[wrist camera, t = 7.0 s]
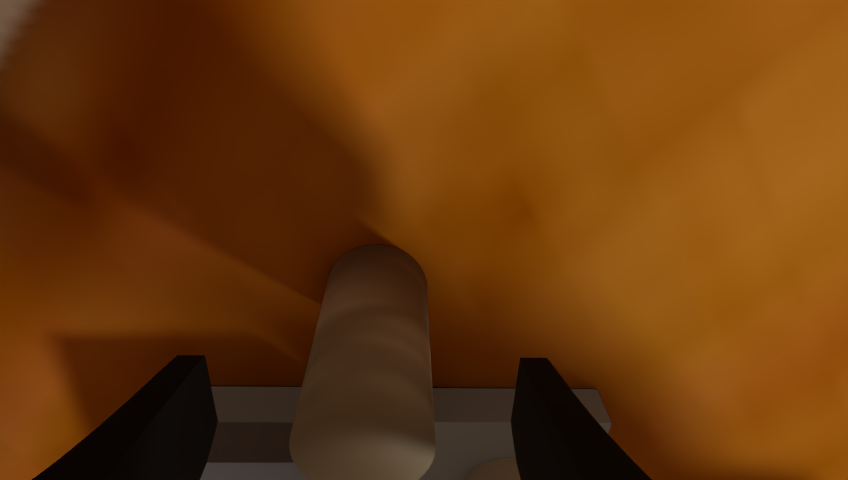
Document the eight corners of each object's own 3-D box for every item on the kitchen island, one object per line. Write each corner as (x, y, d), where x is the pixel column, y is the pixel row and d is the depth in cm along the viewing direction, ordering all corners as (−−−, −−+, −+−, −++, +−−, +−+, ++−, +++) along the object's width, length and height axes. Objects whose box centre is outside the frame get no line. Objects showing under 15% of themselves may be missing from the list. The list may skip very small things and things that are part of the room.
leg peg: (428, 245, 16) (438, 394, 11) (425, 328, 17) (432, 496, 12) (325, 243, 16) (283, 393, 10) (329, 326, 17) (295, 496, 12)
